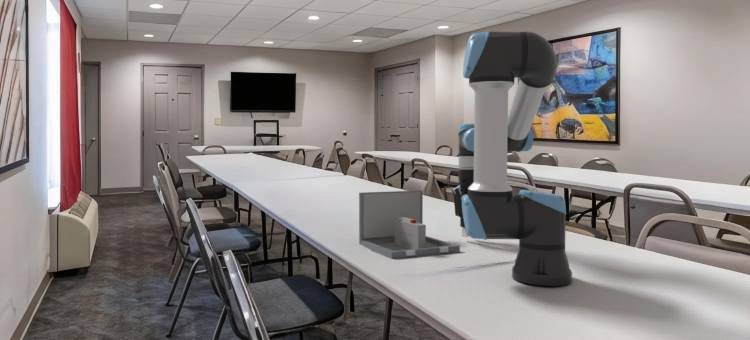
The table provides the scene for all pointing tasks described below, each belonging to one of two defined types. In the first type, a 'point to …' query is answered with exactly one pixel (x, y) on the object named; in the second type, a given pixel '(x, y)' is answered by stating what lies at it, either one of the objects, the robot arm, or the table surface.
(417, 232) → the cassette player
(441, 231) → the table surface
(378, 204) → the equipment case
